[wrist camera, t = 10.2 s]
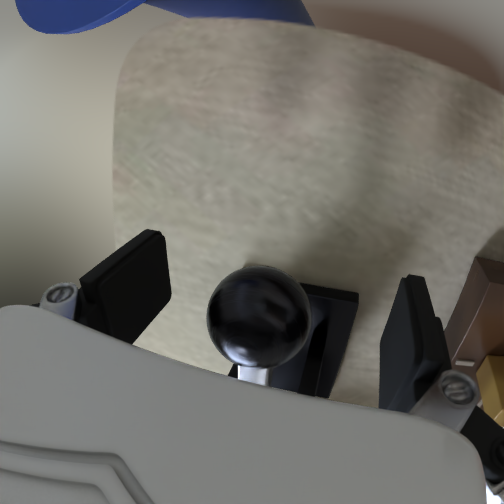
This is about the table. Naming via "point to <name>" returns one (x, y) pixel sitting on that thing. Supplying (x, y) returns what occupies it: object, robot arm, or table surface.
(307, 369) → the handle bracket
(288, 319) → the door lever
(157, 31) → the table surface
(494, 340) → the lock plate
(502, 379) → the thumb turn
